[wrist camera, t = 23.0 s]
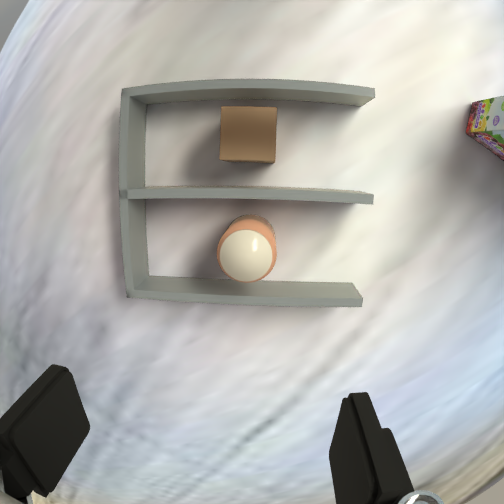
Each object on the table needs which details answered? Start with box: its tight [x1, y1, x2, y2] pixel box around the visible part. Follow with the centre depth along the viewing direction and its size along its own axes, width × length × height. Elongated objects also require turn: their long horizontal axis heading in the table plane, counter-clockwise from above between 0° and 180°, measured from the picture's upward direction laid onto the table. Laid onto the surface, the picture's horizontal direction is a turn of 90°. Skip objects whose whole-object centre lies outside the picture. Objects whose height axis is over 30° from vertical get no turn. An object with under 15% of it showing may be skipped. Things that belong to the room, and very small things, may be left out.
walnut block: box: [220, 106, 277, 163], centre depth 30 cm, size 5×5×7 cm
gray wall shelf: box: [119, 79, 375, 307], centre depth 33 cm, size 23×26×5 cm
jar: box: [217, 214, 277, 283], centre depth 33 cm, size 6×6×8 cm
